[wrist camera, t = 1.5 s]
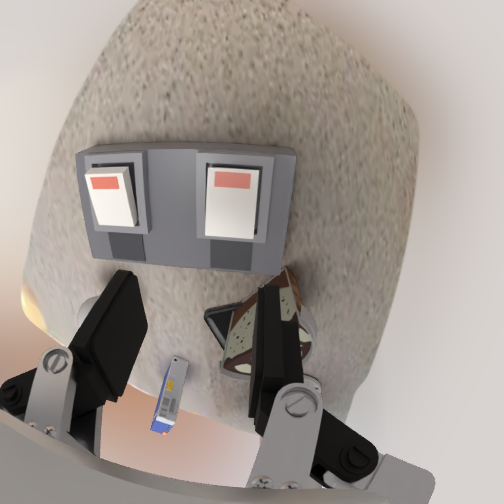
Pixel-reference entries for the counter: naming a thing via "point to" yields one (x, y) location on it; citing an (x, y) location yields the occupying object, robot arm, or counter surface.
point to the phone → (220, 320)
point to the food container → (242, 327)
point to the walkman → (170, 396)
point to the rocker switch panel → (190, 205)
